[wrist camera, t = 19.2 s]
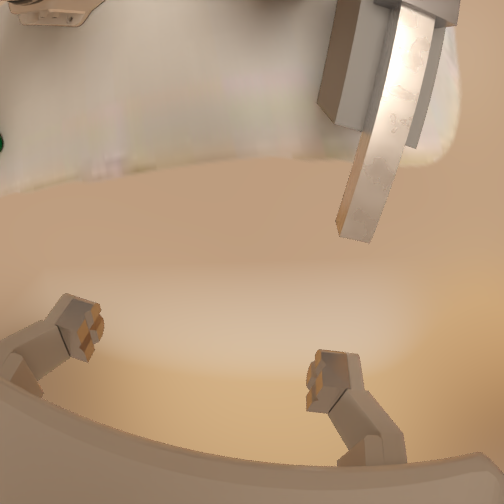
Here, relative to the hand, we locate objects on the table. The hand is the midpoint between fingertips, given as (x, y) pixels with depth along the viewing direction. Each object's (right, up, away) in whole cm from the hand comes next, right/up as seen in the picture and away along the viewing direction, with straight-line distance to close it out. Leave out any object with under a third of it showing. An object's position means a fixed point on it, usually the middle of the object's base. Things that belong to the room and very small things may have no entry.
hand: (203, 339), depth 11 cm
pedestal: (+16, +29, +24) cm, 41 cm away
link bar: (+13, +16, +12) cm, 24 cm away
